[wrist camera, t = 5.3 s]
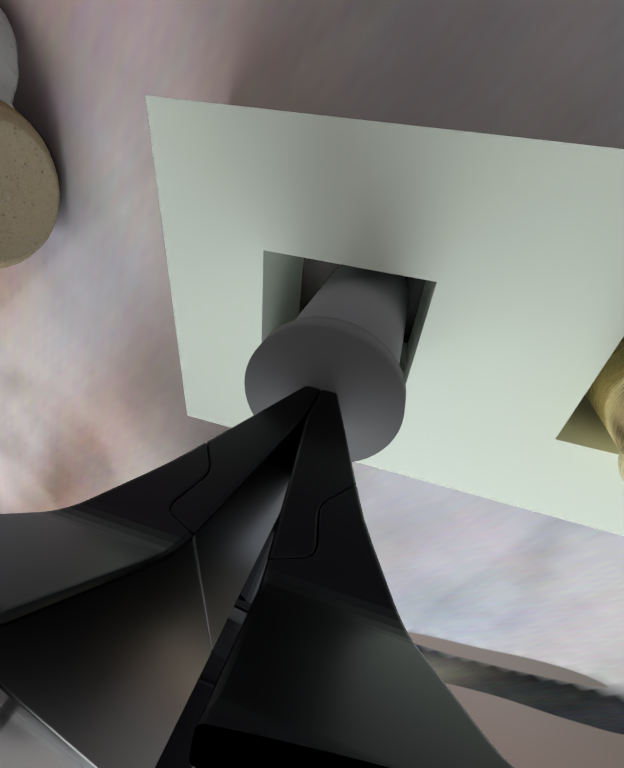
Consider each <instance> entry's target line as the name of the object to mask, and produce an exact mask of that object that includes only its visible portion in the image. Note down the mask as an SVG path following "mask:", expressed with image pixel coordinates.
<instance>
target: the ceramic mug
mask: <svg viewBox="0 0 624 768" xmlns="http://www.w3.org/2000/svg"><path fill="white" fill-rule="evenodd" d="M17 49H18V48H17V43H16V40H15V36H14V33H13V30H12V28H11V26H10V23H9V21H8V19H7V17H6V15H5V13H4V12H3V11H2V9H1V8H0V268H4V267H9V266H12V265H15V264H17V263H20V262H22V261H23V260H25V259H27V258H29V257H30V256H31V255H32V254H33V253H35V252H36V251H37V250H38V249H39V248H40V247H41V246H42V245H43V244H44V243H45V241H46V240H47V239H48V237H49V236H50V234H51V231H52V229H53V227H54V224H55V222H56V219H57V215H58V210H59V198H60V191H59V182H58V175H57V172H56V169H55V166H54V163H53V160H52V158H51V155H50V153H49V150H48V148H47V147H46V145H45V143H44V141H43V140H42V138H41V137H40V135H39V134H38V132H37V131H36V130H35V129H34V128H33V126H32V125H31V124H30V123H29V122H28V121H27V120H26V119H25V118H24V117H23V116H22V115H21V114H20V113H18V112H17V111H16V110H15V109H14V107H13V104H12V102H13V99H14V94H15V93H16V89H17V85H18V80H19V69H18V56H17Z"/></svg>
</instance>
